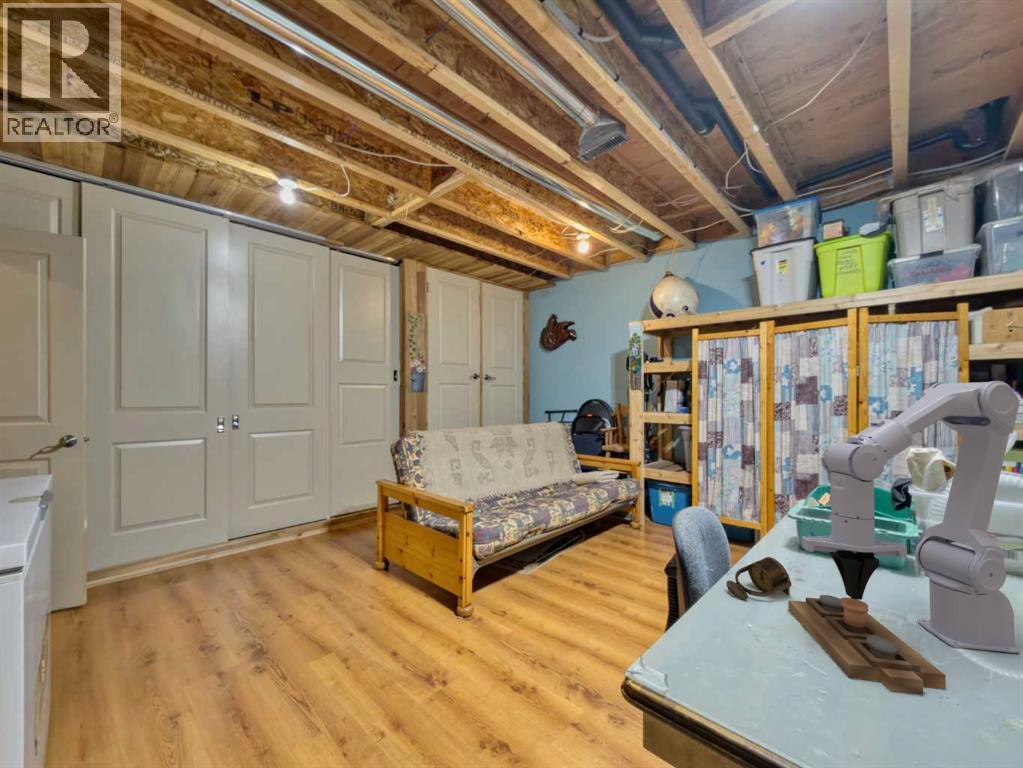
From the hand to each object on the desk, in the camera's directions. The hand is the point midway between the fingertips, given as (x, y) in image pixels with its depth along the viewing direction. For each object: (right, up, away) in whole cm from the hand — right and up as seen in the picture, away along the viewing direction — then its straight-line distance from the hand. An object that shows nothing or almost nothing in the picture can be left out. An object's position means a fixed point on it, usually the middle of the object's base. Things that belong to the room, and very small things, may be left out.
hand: (853, 596), depth 71 cm
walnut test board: (0, -8, 0) cm, 8 cm away
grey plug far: (+1, -7, +7) cm, 10 cm away
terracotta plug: (0, -4, 0) cm, 4 cm away
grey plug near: (-1, -7, -7) cm, 10 cm away
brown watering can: (-6, -9, +19) cm, 21 cm away
